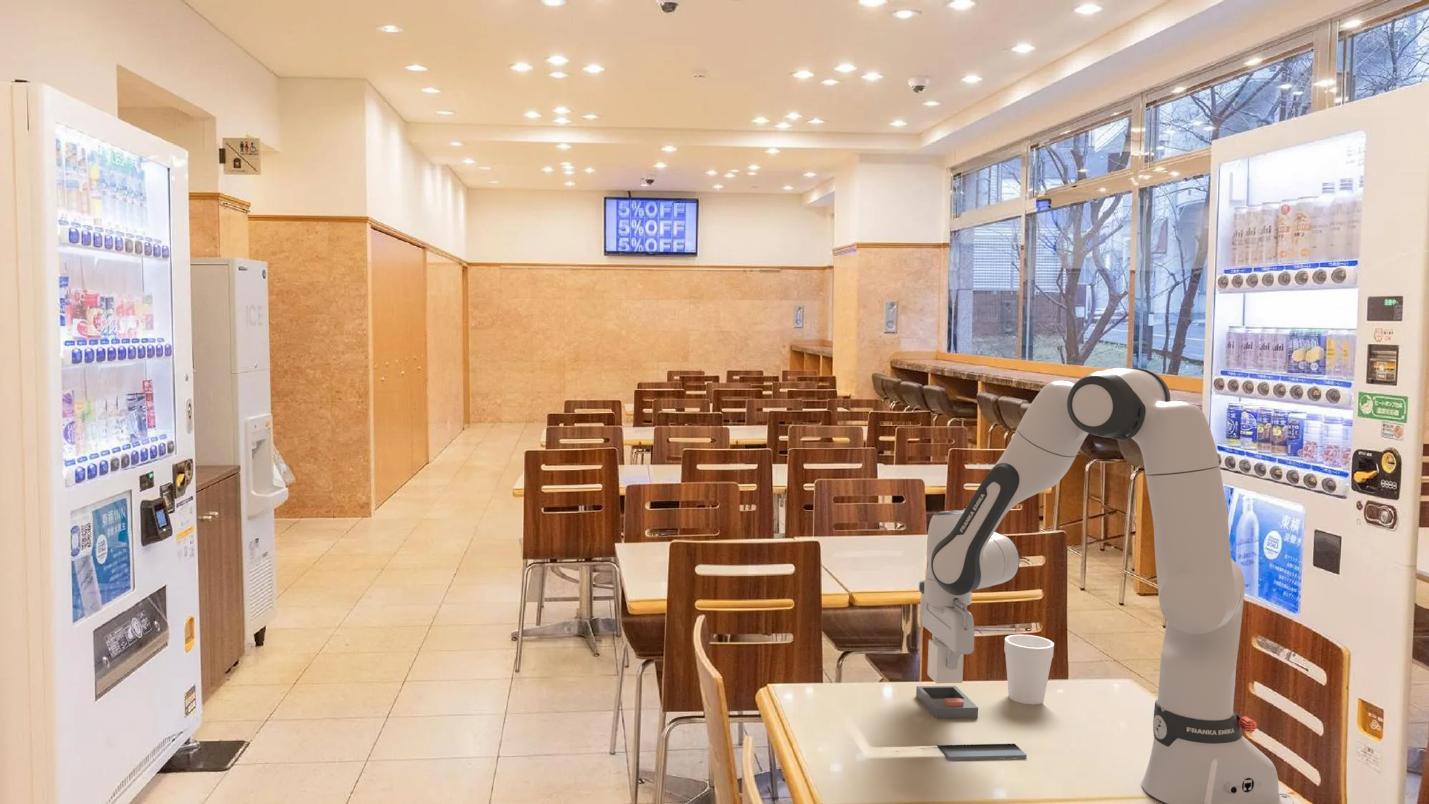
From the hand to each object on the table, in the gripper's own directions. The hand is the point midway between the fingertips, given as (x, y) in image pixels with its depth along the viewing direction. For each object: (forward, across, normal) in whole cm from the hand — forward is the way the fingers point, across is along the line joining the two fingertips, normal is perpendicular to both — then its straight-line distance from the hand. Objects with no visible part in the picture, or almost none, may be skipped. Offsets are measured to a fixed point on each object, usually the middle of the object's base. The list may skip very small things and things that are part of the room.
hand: (945, 662), depth 202 cm
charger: (+3, 0, 0) cm, 3 cm away
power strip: (+10, -2, 0) cm, 10 cm away
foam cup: (+10, +2, -18) cm, 20 cm away
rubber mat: (+10, -17, 0) cm, 19 cm away
